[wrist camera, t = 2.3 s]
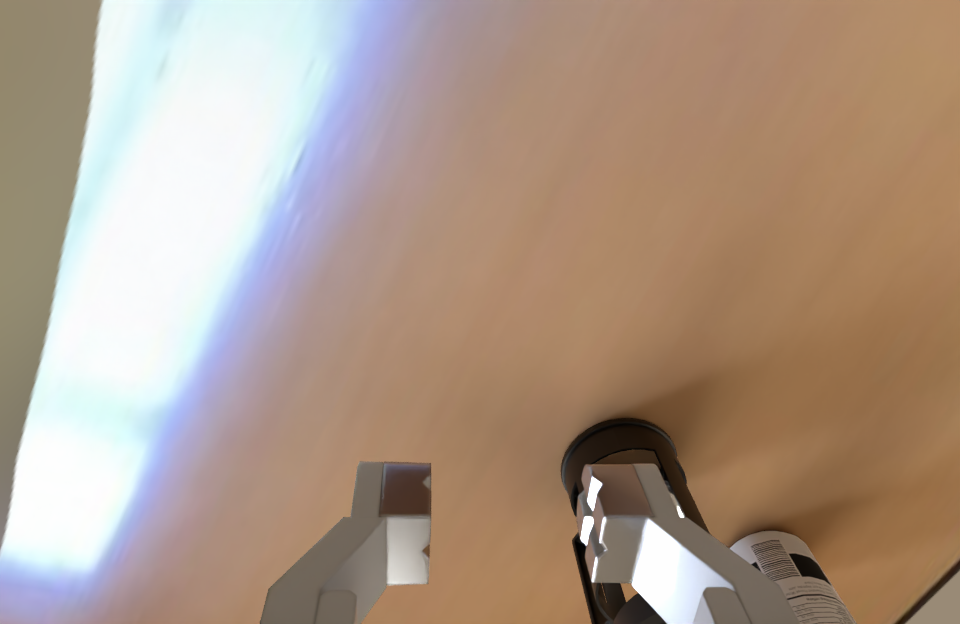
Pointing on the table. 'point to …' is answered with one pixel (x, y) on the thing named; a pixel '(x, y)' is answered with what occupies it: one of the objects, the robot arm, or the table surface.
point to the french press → (616, 617)
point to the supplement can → (795, 576)
